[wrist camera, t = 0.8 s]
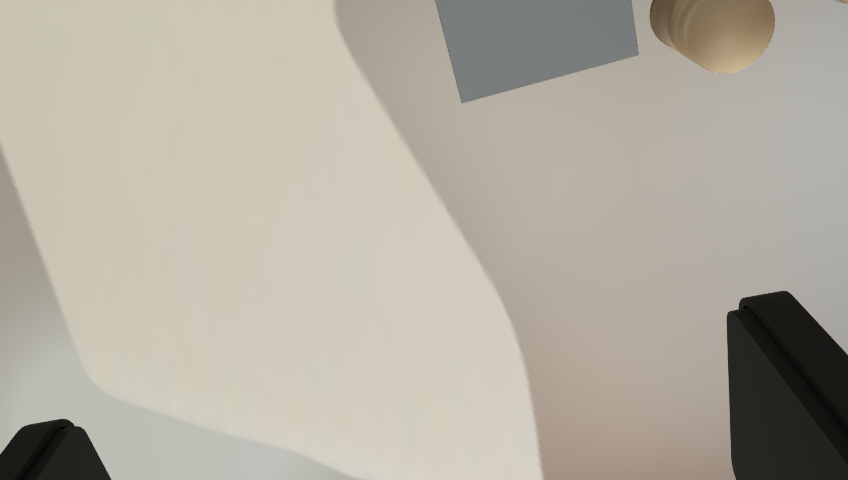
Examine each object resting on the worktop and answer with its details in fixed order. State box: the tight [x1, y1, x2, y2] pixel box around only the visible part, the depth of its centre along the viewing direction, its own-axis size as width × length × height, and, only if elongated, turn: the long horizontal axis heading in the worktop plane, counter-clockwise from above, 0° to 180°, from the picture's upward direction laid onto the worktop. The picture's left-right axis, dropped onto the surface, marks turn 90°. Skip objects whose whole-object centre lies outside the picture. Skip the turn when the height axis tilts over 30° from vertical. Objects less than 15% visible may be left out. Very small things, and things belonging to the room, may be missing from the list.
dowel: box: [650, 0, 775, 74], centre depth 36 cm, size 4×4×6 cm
